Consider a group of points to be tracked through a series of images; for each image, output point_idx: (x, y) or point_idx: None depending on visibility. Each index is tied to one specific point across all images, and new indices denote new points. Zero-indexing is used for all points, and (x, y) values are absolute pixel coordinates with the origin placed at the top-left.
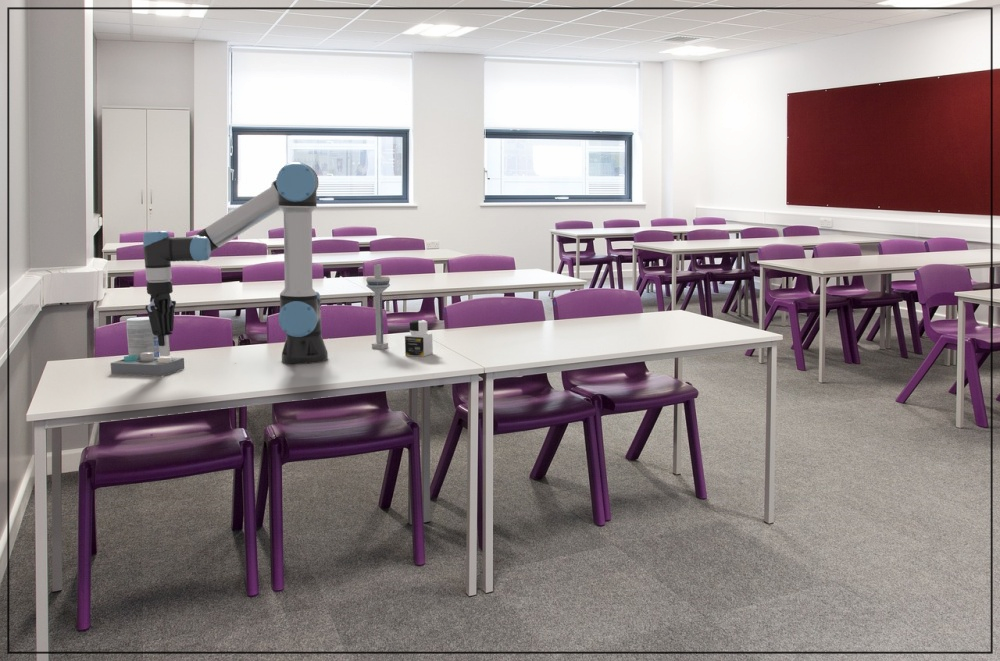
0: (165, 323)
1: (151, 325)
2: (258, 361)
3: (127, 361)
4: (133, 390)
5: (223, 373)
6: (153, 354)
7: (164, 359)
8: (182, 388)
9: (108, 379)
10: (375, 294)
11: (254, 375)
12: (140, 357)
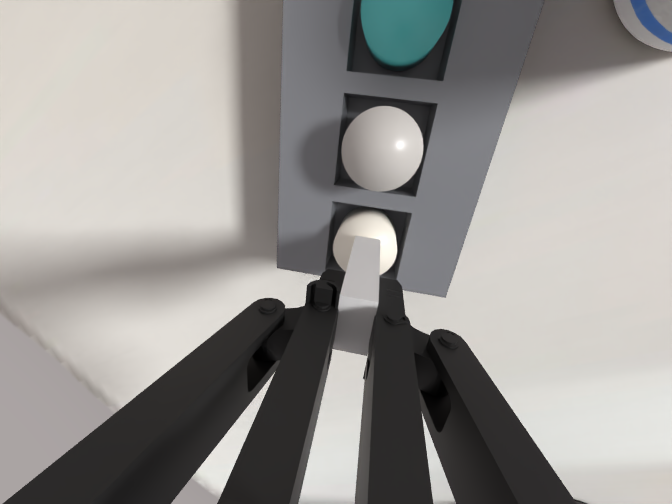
0: (362, 428)
1: (193, 357)
2: (546, 450)
3: (346, 27)
4: (95, 245)
5: (353, 399)
6: (382, 189)
7: (337, 260)
8: (164, 354)
9: (194, 40)
10: None
11: (334, 458)
12: (486, 39)
